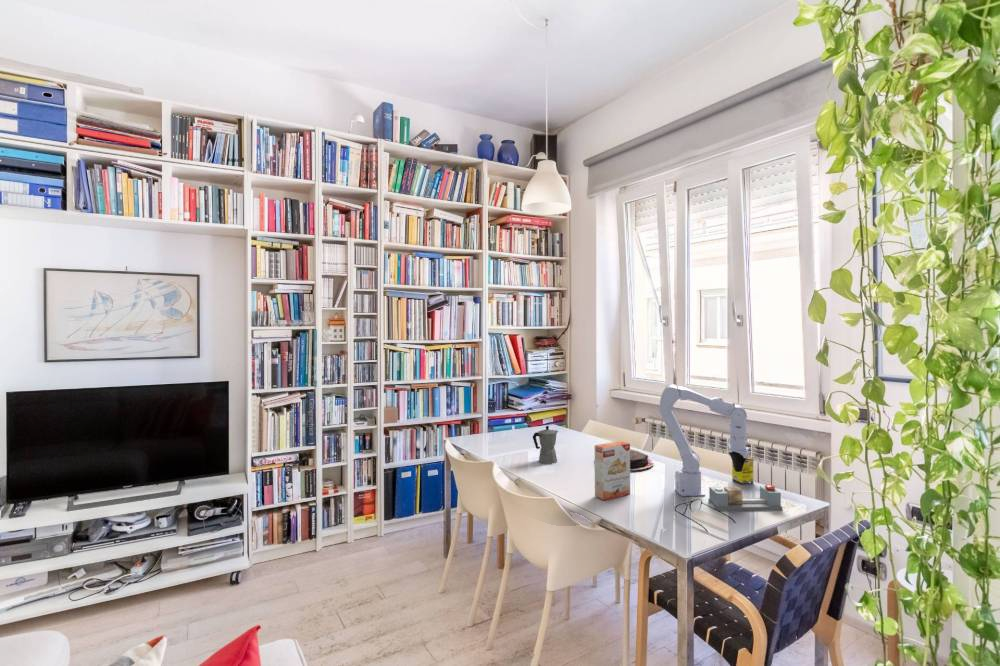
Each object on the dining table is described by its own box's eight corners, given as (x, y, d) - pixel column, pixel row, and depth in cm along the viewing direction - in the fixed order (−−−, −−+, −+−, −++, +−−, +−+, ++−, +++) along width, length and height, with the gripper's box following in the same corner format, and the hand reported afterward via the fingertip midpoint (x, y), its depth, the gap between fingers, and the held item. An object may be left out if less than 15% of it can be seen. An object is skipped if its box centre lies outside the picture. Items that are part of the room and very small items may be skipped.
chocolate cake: (615, 452, 257) (615, 440, 256) (664, 463, 236) (664, 450, 236) (583, 464, 238) (583, 451, 237) (633, 477, 217) (633, 462, 217)
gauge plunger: (768, 498, 179) (767, 487, 179) (763, 495, 182) (763, 484, 182) (776, 498, 179) (776, 487, 179) (772, 495, 182) (772, 484, 182)
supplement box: (742, 485, 203) (742, 459, 202) (731, 480, 209) (731, 455, 208) (754, 483, 204) (753, 457, 204) (743, 479, 210) (743, 454, 210)
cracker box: (604, 501, 188) (603, 448, 188) (594, 496, 194) (593, 444, 193) (631, 494, 195) (630, 443, 194) (621, 490, 200) (620, 439, 200)
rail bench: (718, 510, 177) (718, 493, 177) (708, 501, 186) (708, 484, 186) (782, 510, 176) (782, 492, 176) (769, 500, 185) (769, 484, 185)
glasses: (700, 510, 179) (701, 497, 178) (736, 529, 166) (738, 515, 165) (673, 518, 172) (674, 505, 171) (708, 539, 159) (710, 525, 158)
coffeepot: (552, 457, 250) (552, 422, 249) (564, 461, 242) (563, 425, 241) (528, 462, 242) (527, 426, 242) (539, 467, 234) (538, 430, 233)
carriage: (728, 503, 179) (728, 490, 179) (724, 499, 183) (723, 486, 183) (742, 503, 179) (742, 490, 179) (737, 499, 183) (737, 486, 183)
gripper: (757, 441, 181) (758, 477, 181) (739, 432, 195) (740, 465, 196) (738, 441, 181) (739, 477, 181) (722, 432, 195) (722, 465, 196)
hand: (738, 471), depth 188 cm, fingers closed
